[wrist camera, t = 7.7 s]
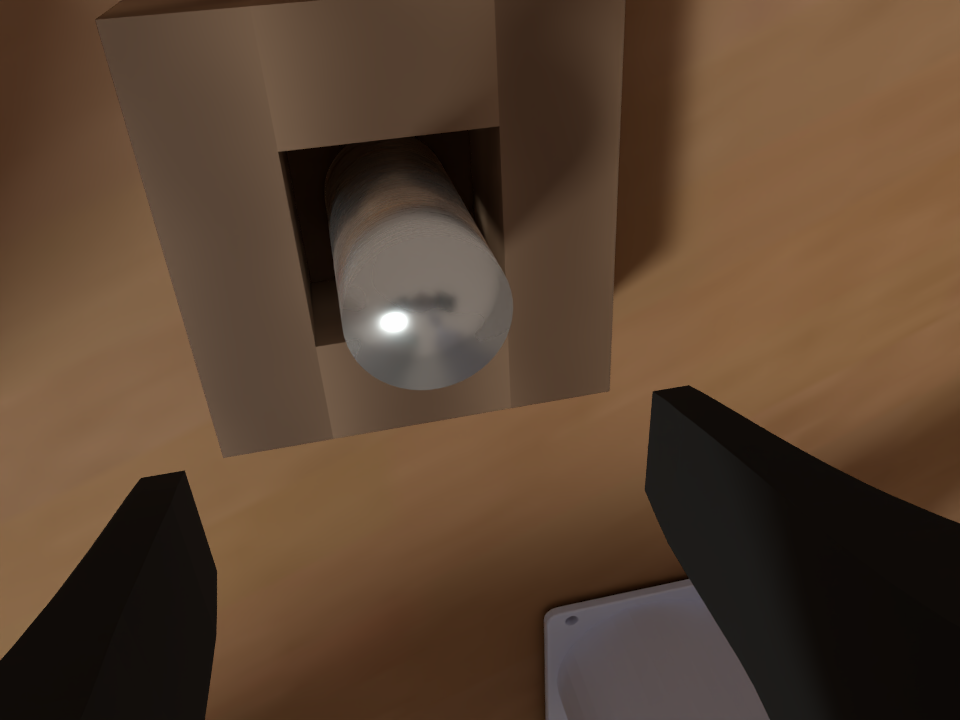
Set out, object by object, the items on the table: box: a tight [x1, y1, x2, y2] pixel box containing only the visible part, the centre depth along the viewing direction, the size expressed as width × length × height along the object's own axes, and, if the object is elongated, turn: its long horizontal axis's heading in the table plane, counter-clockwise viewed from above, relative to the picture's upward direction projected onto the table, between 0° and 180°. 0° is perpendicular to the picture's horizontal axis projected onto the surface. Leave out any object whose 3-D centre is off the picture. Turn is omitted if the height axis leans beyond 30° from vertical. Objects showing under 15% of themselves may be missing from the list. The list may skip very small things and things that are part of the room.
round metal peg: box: [324, 136, 513, 390], centre depth 17 cm, size 3×3×7 cm
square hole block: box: [95, 0, 625, 458], centre depth 19 cm, size 10×10×4 cm
